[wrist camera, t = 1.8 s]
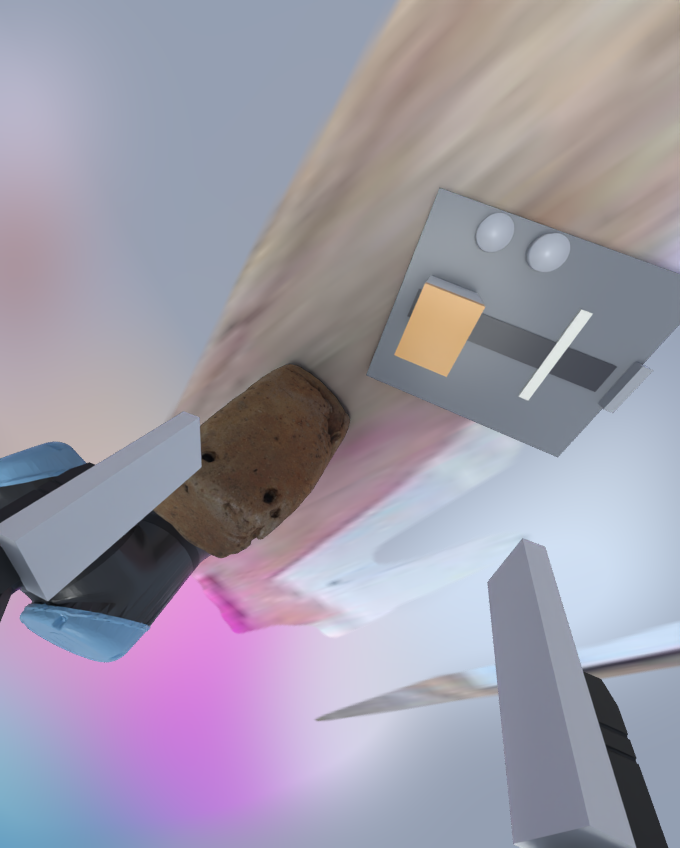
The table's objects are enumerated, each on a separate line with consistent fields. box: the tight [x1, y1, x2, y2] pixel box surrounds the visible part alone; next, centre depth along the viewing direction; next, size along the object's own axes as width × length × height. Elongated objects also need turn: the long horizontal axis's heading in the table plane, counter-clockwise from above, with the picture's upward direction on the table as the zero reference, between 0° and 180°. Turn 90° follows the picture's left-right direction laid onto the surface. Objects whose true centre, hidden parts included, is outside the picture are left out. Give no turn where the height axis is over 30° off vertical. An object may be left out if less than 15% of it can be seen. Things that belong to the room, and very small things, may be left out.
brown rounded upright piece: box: [153, 364, 350, 558], centre depth 30 cm, size 11×8×20 cm
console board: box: [366, 188, 680, 457], centre depth 27 cm, size 20×16×4 cm
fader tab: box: [394, 275, 485, 377], centre depth 24 cm, size 4×5×7 cm
